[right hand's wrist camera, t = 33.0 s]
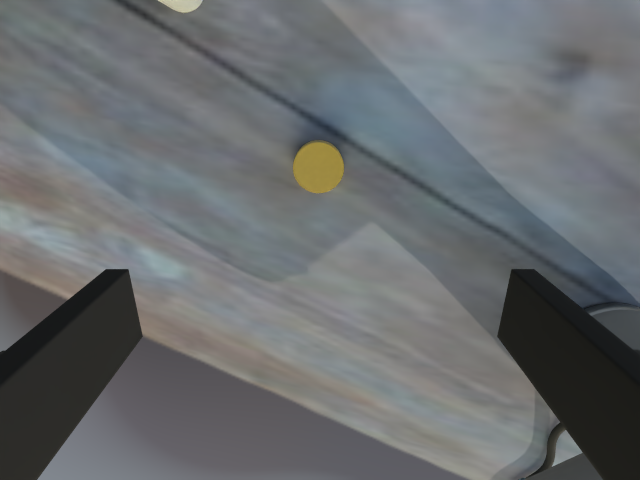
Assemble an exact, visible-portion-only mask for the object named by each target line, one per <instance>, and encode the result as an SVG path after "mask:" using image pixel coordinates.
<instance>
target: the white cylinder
mask: <svg viewBox="0 0 640 480" xmlns="http://www.w3.org/2000/svg"><path fill="white" fill-rule="evenodd" d="M158 1H160V2H161V3H163V4H165V5H166V6H168V7H170V8H172V9H173V10H175V11H178V12H183V13H186V12H191V11H193V10H195V9H196V8H198V7H199V6H200V4H201V3H202V1H203V0H158Z"/></svg>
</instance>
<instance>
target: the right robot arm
mask: <svg viewBox="0 0 640 480" xmlns="http://www.w3.org/2000/svg"><path fill="white" fill-rule="evenodd" d="M142 337H143V336H142V331H141V326H140V322H139V317H138V312H137V308H136V303H135V298H134V293H133V289H132V284H131V279H130V275H129V270H128V269H106V270H105V271H103V272H102V273H101V274H100V275H98V276H97V277H96V278H95V279H93V280H92V281H91V282H90V283H88V284H87V285H86V286H85V287H84V288H82V289H81V290H80V291H79V292H77V293H76V294H75V295H74V296H72V297H71V298H70V299H69V300H67V301H66V302H65V303H64V304H63V305H61V306H60V307H59V308H58V309H56V310H55V311H54V312H53V313H51V314H50V315H49V316H48V317H46V318H45V319H44V320H43V321H42V322H40V323H39V324H38V325H37V326H35V327H34V328H33V329H32V330H30V331H29V332H28V333H27V334H26V335H24V336H23V337H22V338H21V339H19V340H18V341H17V342H16V343H14V344H13V345H12V346H11V347H10V348H8V349H7V350H6V351H1V352H0V480H37V479H38V478H39V476H40V475H41V474H42V472H43V471H44V469H45V468H46V467H47V465H48V464H49V463H50V461H51V460H52V459H53V457H54V456H55V454H56V453H57V452H58V451H59V449H60V448H61V446H62V445H63V444H64V442H65V441H66V440H67V438H68V437H69V436H70V434H71V433H72V431H73V430H74V429H75V427H76V426H77V425H78V423H79V422H80V421H81V419H82V418H83V417H84V415H85V414H86V413H87V411H88V410H89V408H90V407H91V406H92V404H93V403H94V402H95V400H96V399H97V398H98V396H99V395H100V394H101V392H102V391H103V389H104V388H105V387H106V385H107V384H108V383H109V381H110V380H111V379H112V377H113V376H114V375H115V373H116V372H117V371H118V369H119V368H120V366H121V365H122V364H123V362H124V361H125V360H126V358H127V357H128V356H129V354H130V353H131V352H132V350H133V349H134V347H135V346H136V345H137V343H138V342H139V341H140V339H141V338H142ZM497 337H498V338H499V339H500V341H501V342H502V343H503V345H504V346H505V347H506V349H507V350H508V352H509V353H510V354H511V356H512V357H513V358H514V360H515V361H516V362H517V364H518V365H519V366H520V368H521V369H522V371H523V372H524V373H525V375H526V376H527V377H528V379H529V380H530V381H531V383H532V384H533V385H534V387H535V388H536V390H537V391H538V392H539V394H540V395H541V396H542V398H543V399H544V400H545V402H546V403H547V404H548V406H549V407H550V408H551V410H552V411H553V413H554V414H555V415H556V417H557V418H558V419H559V421H560V423H559V424H558V425H557V426H556V427H555V428H554V429H553V430H552V432H551V434H550V436H549V439H548V444H547V456H546V459H545V461H544V463H543V465H542V466H541V467H540V468H539V469H538V470H537V471H536V472H534V473H533V474H531V475H530V476H528V477H526V478H521V479H519V480H640V308H639V307H637V306H633V305H630V304H624V303H606V304H600V305H595V306H591V307H588V308H585V309H582V308H581V307H580V306H579V305H577V304H576V303H575V302H574V301H573V300H571V299H570V298H569V297H568V296H566V295H565V294H564V293H563V292H561V291H560V290H559V289H558V288H556V287H555V286H554V285H553V284H552V283H550V282H549V281H548V280H547V279H545V278H544V277H543V276H542V275H540V274H539V273H538V272H537V271H535V270H534V269H512V270H511V275H510V279H509V284H508V289H507V293H506V298H505V303H504V308H503V312H502V317H501V322H500V326H499V331H498V336H497ZM565 430H567V432H568V433H569V434H570V436H571V437H572V438H573V440H574V441H575V442H576V444H577V445H578V446H579V448H580V449H581V451H582V452H583V453H581V454H579V455H577V456H575V457H573V458H571V459H568V460H566V461H564V462H562V463H560V464H557V465H555V466H553V467H552V465H553V462H554V458H555V448H556V442H557V439H558V437H559V436H560V434H561V433H562V432H563V431H565Z"/></svg>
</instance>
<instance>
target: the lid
mask: <svg viewBox="0 0 640 480" xmlns="http://www.w3.org/2000/svg"><path fill="white" fill-rule="evenodd" d="M293 172H294V176H295V178H296V180H297V182H298V183H299V185H300V186H301V187H303V188H304V189H306V190H307V191H310V192H313V193H324V192H327V191H330V190H332V189H333V188H334V187H336V186H337V185H338V183H339V182H340V180H341V178H342V176H343V172H344V163H343V159H342V156H341V154H340V152H339V150H338V149H337V148H336V147H335V146H334V145H333V144H331V143H329V142H327V141H324V140H313V141H310V142H308V143H306V144H304V145H303V146H302V147H301V148H300V149H299V151H298V152H297V154H296V157H295V159H294V163H293Z"/></svg>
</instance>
